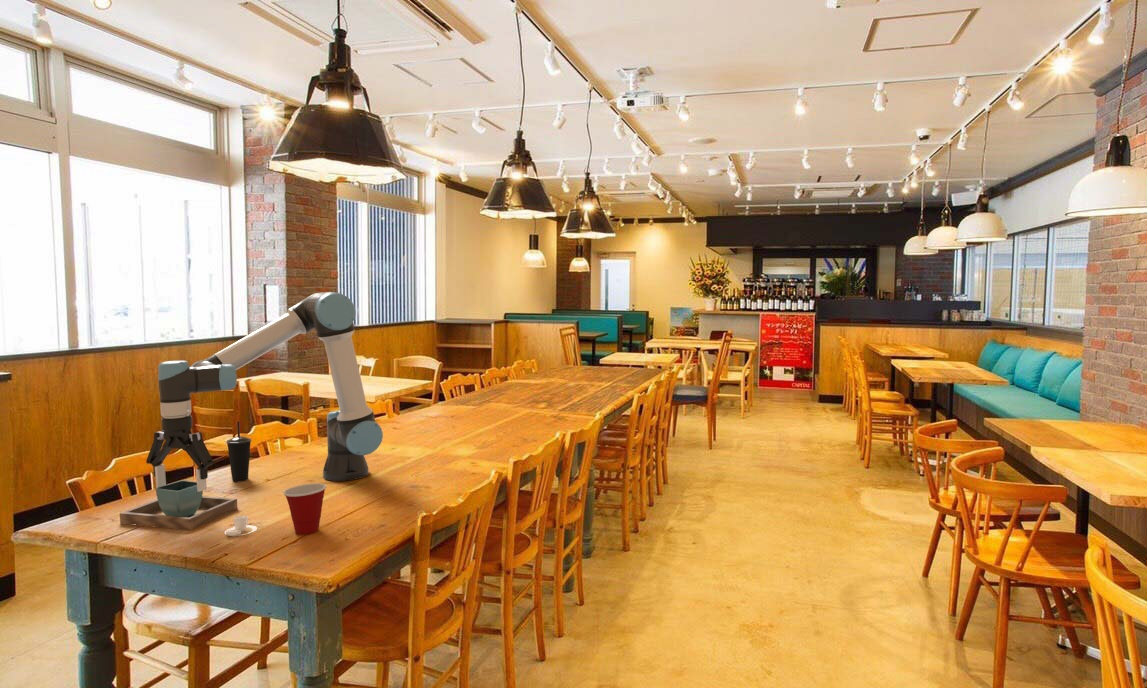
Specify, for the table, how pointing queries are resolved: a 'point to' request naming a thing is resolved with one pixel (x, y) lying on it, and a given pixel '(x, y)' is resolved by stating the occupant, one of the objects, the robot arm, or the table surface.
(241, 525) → the teacup and saucer
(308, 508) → the plastic cup
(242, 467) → the drinking cup
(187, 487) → the flower pot
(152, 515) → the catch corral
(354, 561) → the table surface
